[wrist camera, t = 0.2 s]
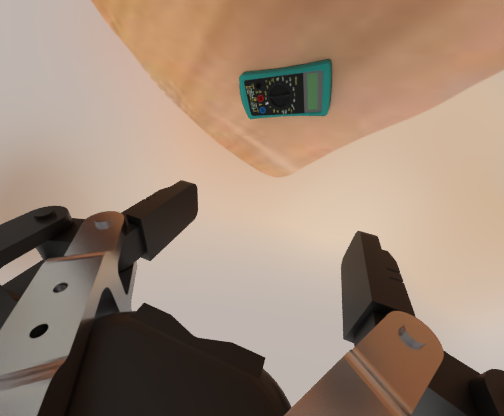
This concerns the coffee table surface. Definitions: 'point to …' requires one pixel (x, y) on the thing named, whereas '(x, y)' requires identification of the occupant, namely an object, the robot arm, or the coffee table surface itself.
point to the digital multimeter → (287, 91)
